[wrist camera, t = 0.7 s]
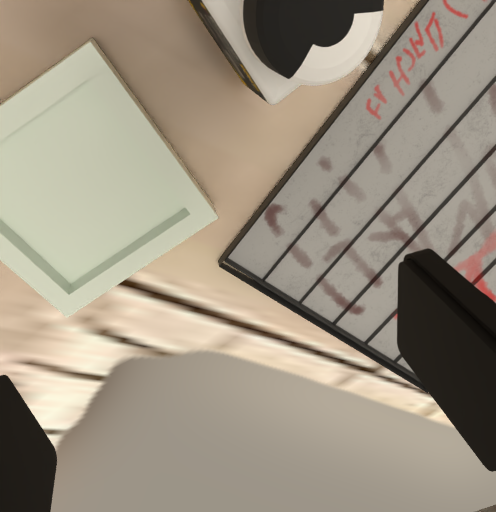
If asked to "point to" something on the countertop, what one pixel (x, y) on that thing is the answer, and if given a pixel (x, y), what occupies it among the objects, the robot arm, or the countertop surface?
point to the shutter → (387, 184)
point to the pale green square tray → (88, 183)
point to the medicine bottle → (291, 40)
